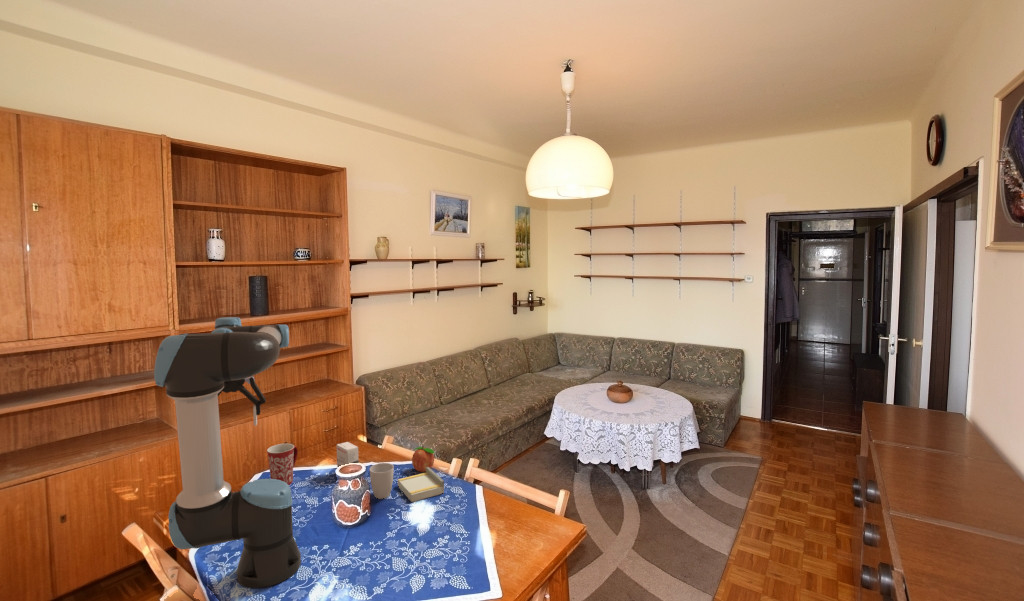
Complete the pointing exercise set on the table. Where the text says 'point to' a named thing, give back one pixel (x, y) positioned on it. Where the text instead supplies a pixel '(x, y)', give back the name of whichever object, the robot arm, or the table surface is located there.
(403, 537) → the table surface
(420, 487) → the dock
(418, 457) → the fruit
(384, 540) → the table surface
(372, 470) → the cup
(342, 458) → the ink box
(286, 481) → the mug
